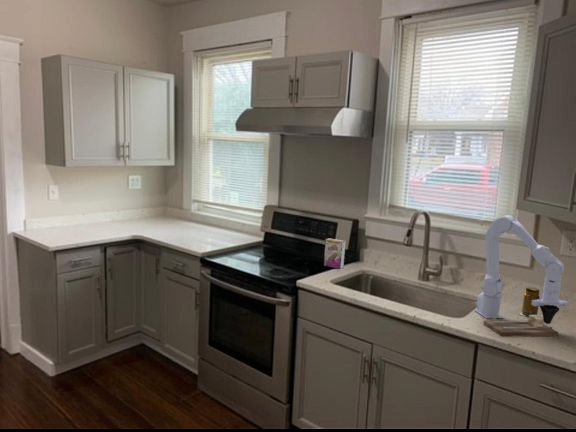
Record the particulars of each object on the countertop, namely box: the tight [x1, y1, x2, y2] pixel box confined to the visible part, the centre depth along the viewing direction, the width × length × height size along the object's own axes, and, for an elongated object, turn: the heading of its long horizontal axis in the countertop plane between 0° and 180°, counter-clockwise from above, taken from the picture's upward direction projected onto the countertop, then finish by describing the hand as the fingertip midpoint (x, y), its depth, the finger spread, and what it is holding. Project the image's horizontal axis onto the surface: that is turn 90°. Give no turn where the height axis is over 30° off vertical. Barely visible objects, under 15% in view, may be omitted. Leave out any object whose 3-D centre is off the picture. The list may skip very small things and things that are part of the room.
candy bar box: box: [323, 238, 346, 270], centre depth 259 cm, size 11×5×16 cm, turn 59°
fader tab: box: [527, 315, 544, 327], centre depth 176 cm, size 4×3×4 cm
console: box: [483, 320, 559, 337], centre depth 176 cm, size 12×24×2 cm, turn 98°
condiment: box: [519, 286, 543, 318], centre depth 193 cm, size 7×8×12 cm
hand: (546, 322), depth 177 cm, fingers closed
